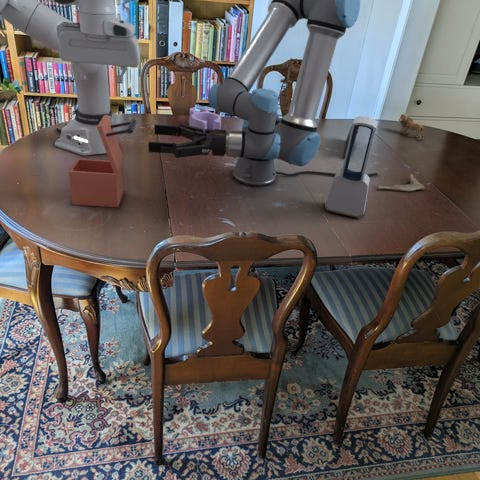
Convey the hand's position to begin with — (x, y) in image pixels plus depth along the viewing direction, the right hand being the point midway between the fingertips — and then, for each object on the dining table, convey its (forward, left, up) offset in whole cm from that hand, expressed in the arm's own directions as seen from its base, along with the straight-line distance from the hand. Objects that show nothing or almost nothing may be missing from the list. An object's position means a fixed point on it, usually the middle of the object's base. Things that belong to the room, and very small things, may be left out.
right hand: (151, 137), depth 133 cm
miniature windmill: (-77, -52, -21) cm, 96 cm away
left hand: (+12, -5, +15) cm, 20 cm away
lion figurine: (-134, -26, -21) cm, 138 cm away
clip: (-40, -54, -21) cm, 71 cm away
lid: (+11, -5, -3) cm, 13 cm away
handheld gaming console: (-92, -19, -21) cm, 96 cm away
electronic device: (-56, +24, -21) cm, 65 cm away
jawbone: (-88, +14, -21) cm, 92 cm away
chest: (+15, -7, -21) cm, 26 cm away
